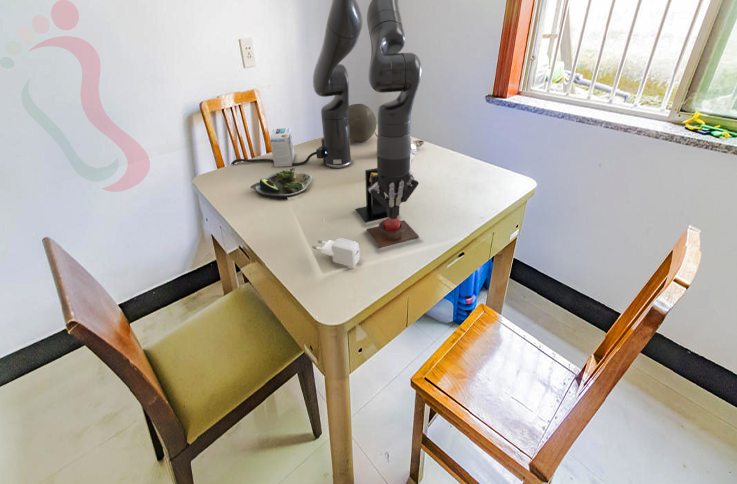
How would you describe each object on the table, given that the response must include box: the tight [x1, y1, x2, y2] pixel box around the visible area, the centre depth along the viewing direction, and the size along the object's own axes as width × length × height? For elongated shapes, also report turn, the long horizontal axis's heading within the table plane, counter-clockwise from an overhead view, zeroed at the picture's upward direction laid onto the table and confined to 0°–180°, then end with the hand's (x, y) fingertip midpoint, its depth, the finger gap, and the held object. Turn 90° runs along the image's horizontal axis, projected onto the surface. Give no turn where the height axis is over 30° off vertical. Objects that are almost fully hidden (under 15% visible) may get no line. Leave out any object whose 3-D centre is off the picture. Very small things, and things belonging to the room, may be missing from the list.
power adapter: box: [311, 237, 361, 270], centre depth 89 cm, size 11×5×6 cm, turn 66°
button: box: [384, 217, 401, 231], centre depth 95 cm, size 4×4×2 cm
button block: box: [366, 219, 420, 249], centre depth 97 cm, size 11×8×4 cm
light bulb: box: [409, 140, 418, 173], centre depth 126 cm, size 7×7×12 cm
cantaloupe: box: [348, 103, 377, 143], centre depth 151 cm, size 14×14×15 cm
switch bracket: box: [355, 167, 389, 224], centre depth 103 cm, size 10×8×13 cm
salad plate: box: [250, 167, 313, 200], centre depth 123 cm, size 19×18×5 cm
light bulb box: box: [269, 127, 295, 168], centre depth 138 cm, size 11×7×11 cm, turn 5°
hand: (392, 217), depth 94 cm, fingers closed
